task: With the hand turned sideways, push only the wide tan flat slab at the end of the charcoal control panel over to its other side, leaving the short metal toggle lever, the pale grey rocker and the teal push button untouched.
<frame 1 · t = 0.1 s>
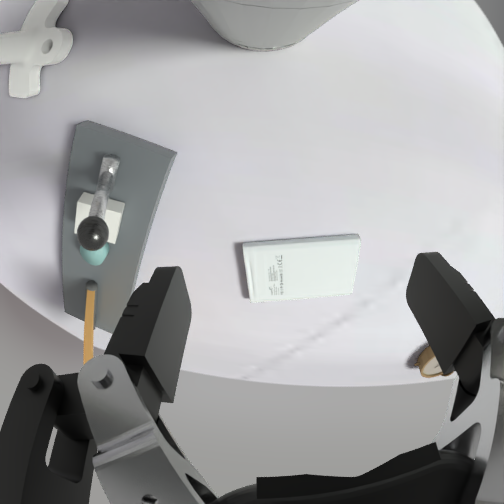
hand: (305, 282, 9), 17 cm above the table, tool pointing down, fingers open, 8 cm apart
tan flat slab: (89, 348, 27), point 9 cm above the table, hinge at -20.0°
rocker: (98, 218, 23), point 3 cm above the table, hinge at -12.0°
external hard drive: (301, 264, 31), on the table
toggle lever: (100, 199, 18), point 7 cm above the table, hinge at -20.0°
panel: (103, 247, 29), on the table
push button: (94, 249, 25), point 3 cm above the table, slide at 0.0 cm
alarm clock: (443, 348, 44), on the table
joystick: (50, 45, 15), on the table
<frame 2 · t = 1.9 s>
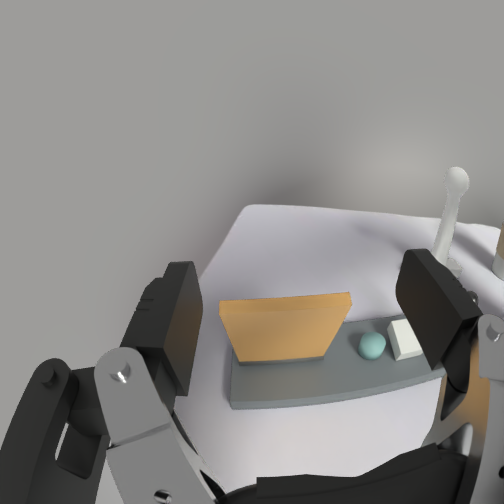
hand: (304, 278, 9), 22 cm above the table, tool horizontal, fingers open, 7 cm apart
tan flat slab: (283, 338, 24), point 9 cm above the table, hinge at -20.0°
rocker: (406, 338, 27), point 3 cm above the table, hinge at -12.0°
toggle lever: (450, 319, 24), point 7 cm above the table, hinge at -20.0°
coffee cup: (503, 273, 38), on the table
panel: (350, 363, 30), on the table
push button: (371, 345, 28), point 3 cm above the table, slide at 0.0 cm
joystick: (436, 281, 40), on the table
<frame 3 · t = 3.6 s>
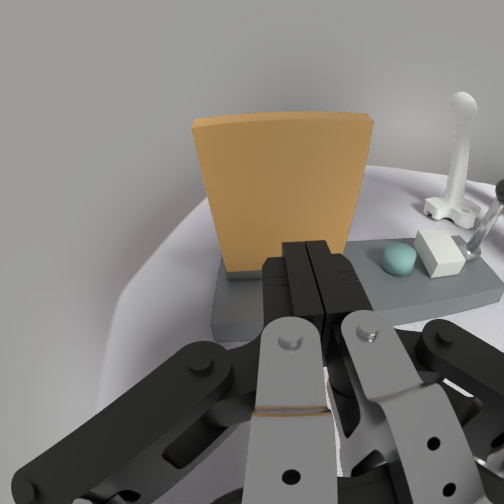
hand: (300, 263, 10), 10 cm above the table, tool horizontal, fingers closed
tan flat slab: (284, 214, 18), point 9 cm above the table, hinge at -20.0°
rocker: (439, 251, 21), point 3 cm above the table, hinge at -12.0°
toggle lever: (486, 224, 18), point 7 cm above the table, hinge at -20.0°
panel: (373, 286, 24), on the table
push button: (399, 258, 22), point 3 cm above the table, slide at 0.0 cm
joystick: (455, 220, 34), on the table
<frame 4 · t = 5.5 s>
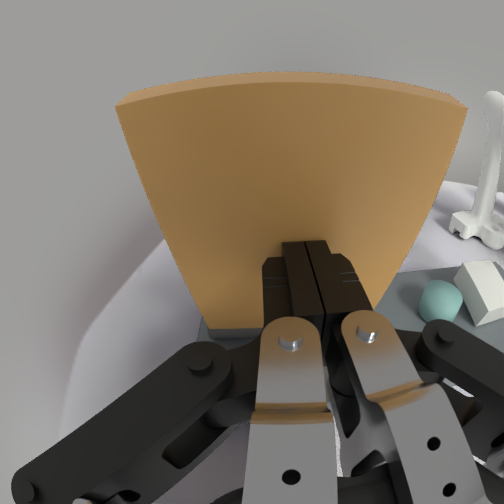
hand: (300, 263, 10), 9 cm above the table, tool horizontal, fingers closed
tan flat slab: (297, 258, 11), point 9 cm above the table, hinge at -20.0°, touching gripper
rocker: (484, 290, 14), point 3 cm above the table, hinge at -12.0°
panel: (404, 337, 17), on the table
push button: (440, 302, 15), point 3 cm above the table, slide at 0.0 cm
joystick: (483, 238, 27), on the table
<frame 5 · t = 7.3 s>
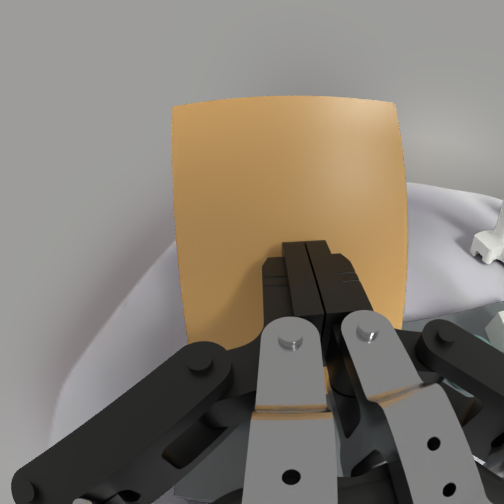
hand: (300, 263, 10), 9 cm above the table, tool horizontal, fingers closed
tan flat slab: (298, 274, 11), point 8 cm above the table, hinge at 23.9°, touching gripper
panel: (427, 397, 12), on the table
push button: (471, 362, 11), point 3 cm above the table, slide at 0.0 cm
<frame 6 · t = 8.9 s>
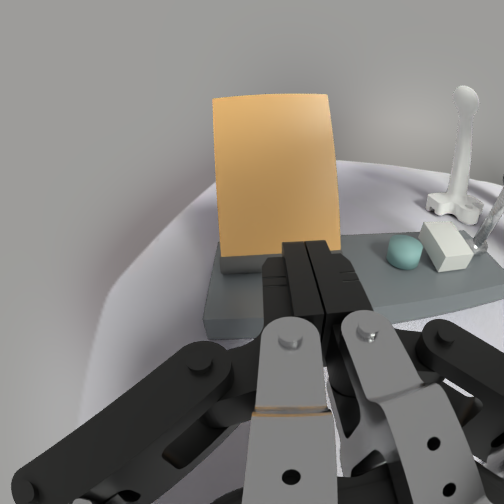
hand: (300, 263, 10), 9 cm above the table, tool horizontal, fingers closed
tan flat slab: (277, 179, 20), point 8 cm above the table, hinge at 24.0°
rocker: (445, 245, 20), point 3 cm above the table, hinge at -12.0°
toggle lever: (494, 216, 17), point 7 cm above the table, hinge at -20.0°
panel: (377, 282, 22), on the table
push button: (404, 251, 20), point 3 cm above the table, slide at 0.0 cm
joystick: (458, 216, 33), on the table
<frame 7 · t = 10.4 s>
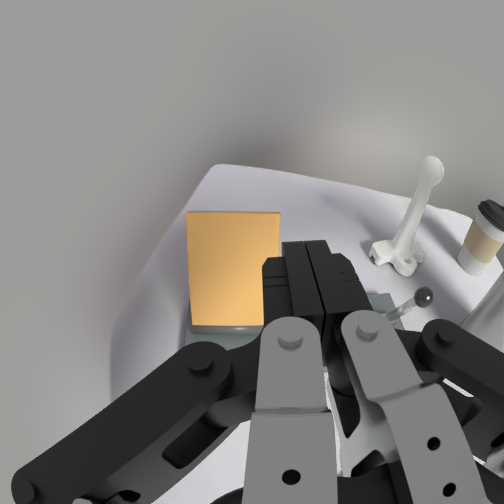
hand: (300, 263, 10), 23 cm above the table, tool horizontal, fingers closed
tan flat slab: (232, 278, 28), point 8 cm above the table, hinge at 24.0°
toggle lever: (403, 309, 28), point 7 cm above the table, hinge at -20.0°
coffee cup: (468, 265, 45), on the table
panel: (301, 338, 33), on the table
joystick: (398, 263, 44), on the table
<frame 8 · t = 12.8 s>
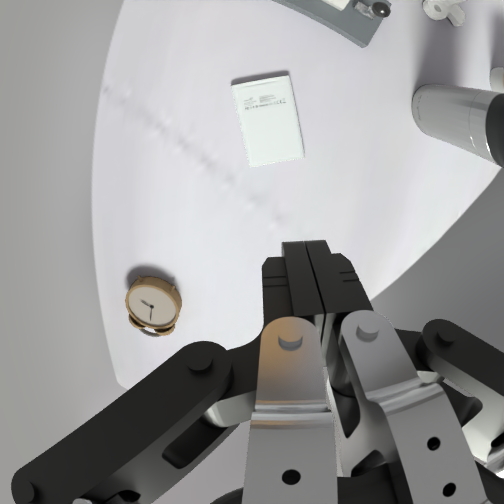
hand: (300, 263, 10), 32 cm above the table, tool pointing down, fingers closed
external hard drive: (268, 120, 36), on the table
toggle lever: (372, 10, 20), point 7 cm above the table, hinge at -20.0°
coffee cup: (498, 83, 27), on the table
alarm clock: (155, 302, 54), on the table
joystick: (432, 5, 22), on the table
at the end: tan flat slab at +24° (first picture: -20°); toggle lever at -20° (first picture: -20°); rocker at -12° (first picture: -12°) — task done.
